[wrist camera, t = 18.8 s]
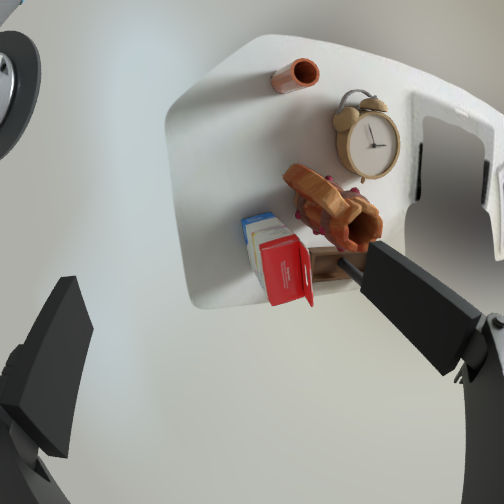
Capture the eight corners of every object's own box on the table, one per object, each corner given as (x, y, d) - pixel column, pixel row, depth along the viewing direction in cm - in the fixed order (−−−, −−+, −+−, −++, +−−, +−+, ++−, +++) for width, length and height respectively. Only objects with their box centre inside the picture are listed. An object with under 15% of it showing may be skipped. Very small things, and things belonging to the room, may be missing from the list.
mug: (346, 199, 46) (404, 228, 33) (316, 236, 47) (365, 277, 34) (285, 140, 40) (336, 146, 27) (250, 182, 41) (285, 207, 28)
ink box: (240, 218, 43) (267, 259, 30) (271, 210, 44) (311, 246, 31) (250, 267, 47) (278, 321, 34) (279, 259, 48) (316, 308, 34)
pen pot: (267, 87, 36) (286, 78, 29) (275, 66, 35) (296, 53, 28) (290, 97, 37) (314, 91, 30) (298, 76, 36) (323, 66, 29)
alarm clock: (358, 192, 43) (334, 103, 34) (341, 181, 47) (316, 100, 38) (406, 165, 43) (390, 83, 34) (387, 157, 47) (370, 80, 38)
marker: (334, 265, 50) (373, 302, 39) (339, 255, 49) (380, 290, 38) (343, 267, 51) (382, 304, 39) (347, 258, 50) (388, 292, 39)
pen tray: (303, 277, 50) (308, 283, 48) (307, 247, 48) (312, 252, 46) (366, 271, 53) (372, 275, 51) (372, 244, 51) (378, 248, 49)
